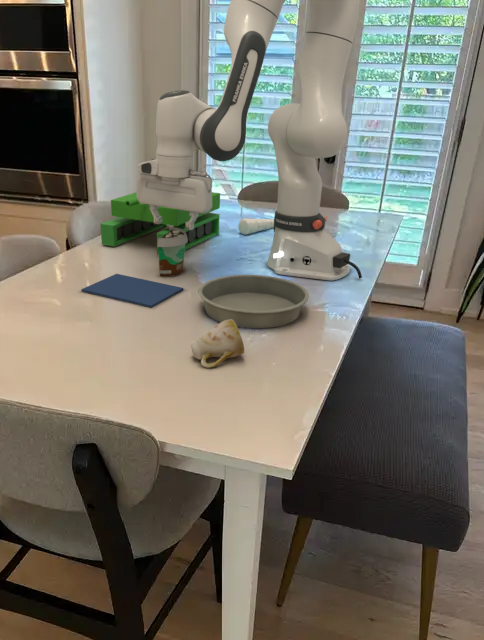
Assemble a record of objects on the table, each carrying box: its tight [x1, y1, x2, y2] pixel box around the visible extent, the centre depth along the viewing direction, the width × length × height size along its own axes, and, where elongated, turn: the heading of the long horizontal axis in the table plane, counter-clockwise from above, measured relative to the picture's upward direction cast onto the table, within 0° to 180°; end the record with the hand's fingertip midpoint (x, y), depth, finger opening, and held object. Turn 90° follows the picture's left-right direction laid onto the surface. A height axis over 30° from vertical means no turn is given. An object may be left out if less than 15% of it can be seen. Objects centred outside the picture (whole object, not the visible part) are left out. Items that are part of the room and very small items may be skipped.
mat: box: [81, 273, 184, 309], centre depth 145 cm, size 20×14×1 cm
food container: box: [158, 226, 188, 278], centre depth 156 cm, size 12×6×10 cm, turn 168°
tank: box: [100, 191, 221, 256], centre depth 178 cm, size 24×35×16 cm
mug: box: [190, 319, 245, 369], centre depth 114 cm, size 8×10×10 cm
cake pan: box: [197, 274, 310, 329], centre depth 135 cm, size 25×25×4 cm
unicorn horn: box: [237, 218, 274, 236], centre depth 197 cm, size 5×24×5 cm, turn 130°
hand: (173, 226), depth 152 cm, fingers open, 8 cm apart
